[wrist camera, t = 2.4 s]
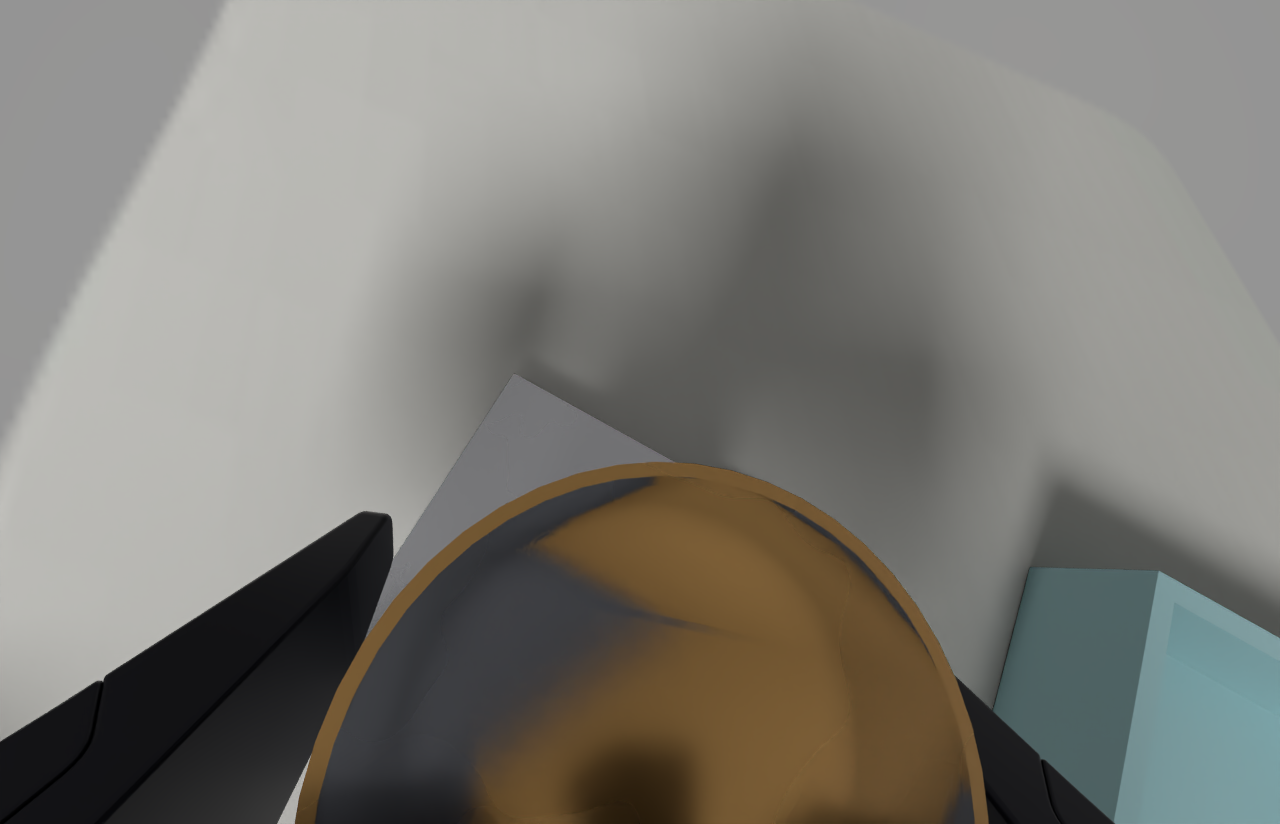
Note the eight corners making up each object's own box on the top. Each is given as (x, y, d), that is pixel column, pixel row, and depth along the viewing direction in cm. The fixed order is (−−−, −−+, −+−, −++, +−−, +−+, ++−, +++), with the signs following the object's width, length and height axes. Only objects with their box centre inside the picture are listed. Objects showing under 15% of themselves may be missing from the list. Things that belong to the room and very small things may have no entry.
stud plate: (649, 878, 14) (680, 980, 11) (312, 697, 14) (235, 743, 10) (791, 533, 17) (850, 528, 14) (515, 381, 17) (507, 338, 13)
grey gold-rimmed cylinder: (609, 729, 14) (869, 1505, 3) (462, 649, 14) (56, 1085, 2) (682, 574, 15) (1069, 631, 4) (548, 500, 15) (539, 337, 4)
